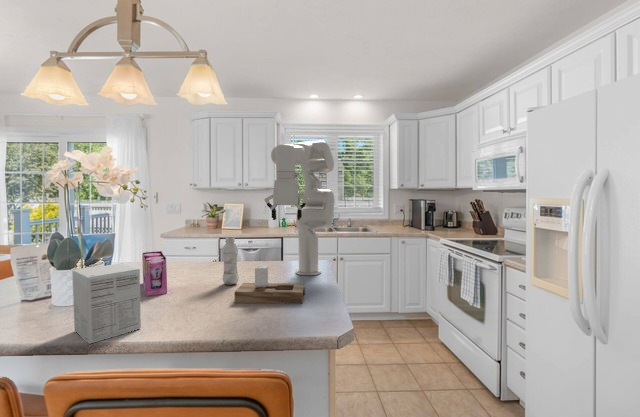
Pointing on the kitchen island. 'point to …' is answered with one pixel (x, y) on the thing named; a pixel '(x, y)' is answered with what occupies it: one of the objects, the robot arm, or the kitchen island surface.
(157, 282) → the gum box
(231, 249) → the plastic bottle
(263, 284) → the steel peg
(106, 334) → the supplement box
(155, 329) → the kitchen island surface
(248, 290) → the keyhole plate
